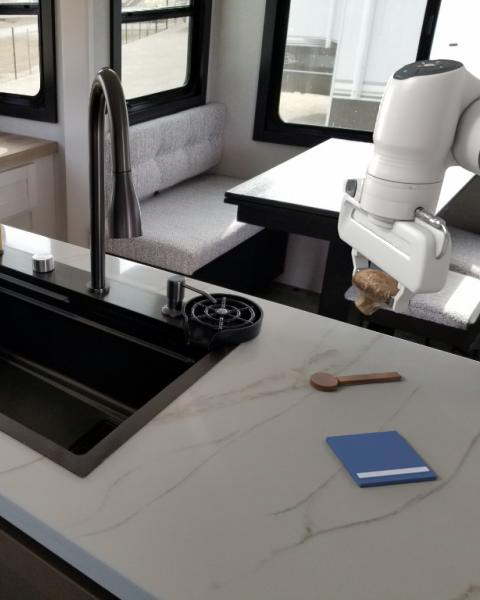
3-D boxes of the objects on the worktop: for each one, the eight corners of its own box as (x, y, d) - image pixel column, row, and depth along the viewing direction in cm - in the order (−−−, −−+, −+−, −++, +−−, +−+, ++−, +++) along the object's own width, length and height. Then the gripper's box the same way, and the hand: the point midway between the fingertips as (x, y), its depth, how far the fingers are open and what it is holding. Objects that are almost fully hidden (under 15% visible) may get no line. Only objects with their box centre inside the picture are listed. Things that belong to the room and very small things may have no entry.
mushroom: (341, 300, 85) (367, 259, 84) (334, 301, 92) (358, 263, 92) (398, 331, 83) (425, 289, 82) (387, 329, 90) (411, 291, 90)
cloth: (395, 433, 87) (396, 429, 86) (436, 479, 79) (437, 475, 79) (325, 440, 86) (326, 436, 85) (359, 487, 78) (360, 483, 77)
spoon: (390, 371, 100) (392, 365, 100) (405, 385, 97) (406, 380, 97) (305, 378, 99) (306, 372, 99) (316, 393, 95) (317, 387, 95)
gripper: (477, 223, 72) (447, 329, 78) (380, 173, 90) (361, 263, 96) (425, 226, 71) (398, 333, 78) (337, 175, 89) (322, 266, 96)
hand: (377, 294), depth 87 cm, fingers closed on mushroom, 8 cm apart
